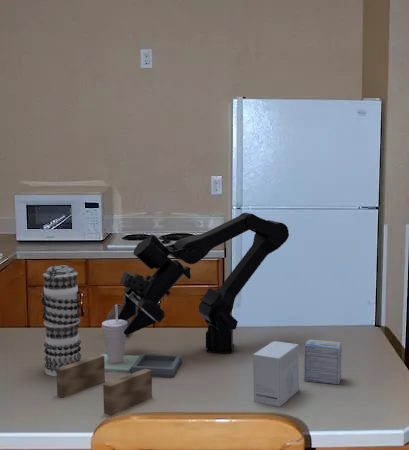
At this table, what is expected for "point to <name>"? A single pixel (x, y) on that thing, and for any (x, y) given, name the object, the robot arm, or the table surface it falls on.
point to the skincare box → (276, 373)
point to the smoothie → (115, 338)
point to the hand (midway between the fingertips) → (120, 329)
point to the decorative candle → (61, 317)
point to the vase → (113, 313)
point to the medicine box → (322, 361)
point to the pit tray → (158, 364)
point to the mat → (120, 364)
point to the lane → (113, 391)
